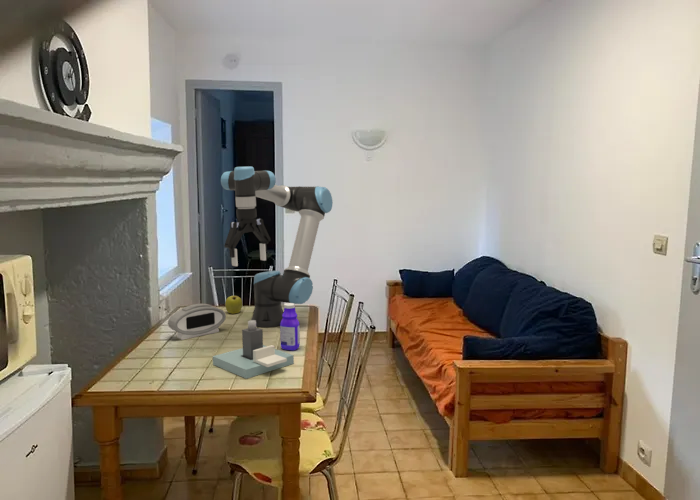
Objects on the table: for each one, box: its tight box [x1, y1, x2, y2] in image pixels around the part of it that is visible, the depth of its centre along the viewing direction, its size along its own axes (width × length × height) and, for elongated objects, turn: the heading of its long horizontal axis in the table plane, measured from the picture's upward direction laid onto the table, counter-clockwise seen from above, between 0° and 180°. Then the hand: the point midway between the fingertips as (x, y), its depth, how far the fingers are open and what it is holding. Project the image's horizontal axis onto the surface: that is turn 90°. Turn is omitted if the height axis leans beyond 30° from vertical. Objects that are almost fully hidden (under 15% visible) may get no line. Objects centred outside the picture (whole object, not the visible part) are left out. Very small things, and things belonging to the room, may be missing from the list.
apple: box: [224, 293, 243, 315], centre depth 266 cm, size 8×8×10 cm
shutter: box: [253, 344, 287, 367], centre depth 187 cm, size 8×8×4 cm
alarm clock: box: [167, 303, 227, 341], centre depth 230 cm, size 23×6×13 cm, turn 132°
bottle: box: [279, 303, 301, 351], centre depth 210 cm, size 7×6×17 cm
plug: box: [241, 319, 264, 360], centre depth 193 cm, size 5×5×15 cm
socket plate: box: [212, 344, 295, 380], centre depth 194 cm, size 20×20×3 cm
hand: (249, 263), depth 213 cm, fingers open, 13 cm apart
